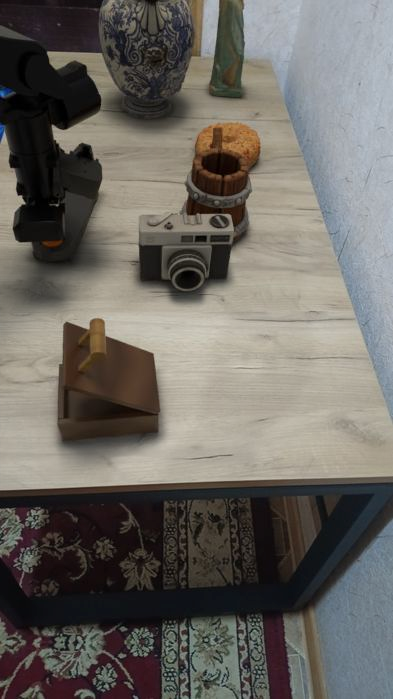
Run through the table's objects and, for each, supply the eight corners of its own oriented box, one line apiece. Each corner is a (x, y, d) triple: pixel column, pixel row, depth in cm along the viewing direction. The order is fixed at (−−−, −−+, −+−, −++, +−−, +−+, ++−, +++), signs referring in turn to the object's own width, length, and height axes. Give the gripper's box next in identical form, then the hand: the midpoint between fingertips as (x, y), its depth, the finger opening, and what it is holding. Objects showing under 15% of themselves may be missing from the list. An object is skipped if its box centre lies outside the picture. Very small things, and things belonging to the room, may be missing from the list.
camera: (134, 295, 73) (132, 241, 65) (140, 256, 79) (140, 202, 71) (226, 302, 74) (236, 250, 66) (226, 262, 79) (235, 210, 72)
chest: (62, 441, 58) (57, 424, 55) (63, 382, 63) (58, 363, 60) (158, 432, 60) (158, 415, 57) (152, 375, 65) (152, 356, 62)
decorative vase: (196, 132, 103) (208, -32, 80) (106, 133, 100) (93, -36, 78) (182, 83, 115) (190, -69, 93) (102, 83, 112) (90, -74, 90)
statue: (246, 99, 113) (266, -34, 93) (210, 98, 112) (222, -37, 92) (242, 85, 117) (260, -46, 97) (207, 84, 116) (218, -48, 96)
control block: (69, 269, 76) (66, 255, 73) (30, 264, 76) (26, 249, 73) (99, 194, 88) (97, 179, 85) (65, 190, 88) (63, 175, 85)
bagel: (266, 148, 101) (270, 124, 97) (247, 183, 93) (252, 159, 89) (206, 133, 103) (209, 109, 99) (184, 166, 95) (185, 142, 91)
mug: (180, 249, 80) (184, 157, 70) (177, 208, 90) (180, 123, 80) (251, 250, 81) (265, 160, 71) (240, 209, 91) (251, 125, 81)
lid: (61, 388, 49) (86, 363, 47) (63, 324, 54) (85, 298, 52) (156, 414, 56) (183, 394, 54) (150, 356, 61) (174, 334, 59)
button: (61, 255, 75) (59, 246, 74) (40, 252, 75) (38, 243, 74) (66, 241, 77) (65, 232, 76) (46, 239, 77) (44, 230, 76)
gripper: (97, 184, 58) (107, 279, 71) (94, 106, 69) (103, 199, 82) (-1, 187, 57) (27, 283, 69) (12, 106, 68) (34, 201, 80)
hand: (51, 238), depth 75 cm, fingers closed, pressing on button
